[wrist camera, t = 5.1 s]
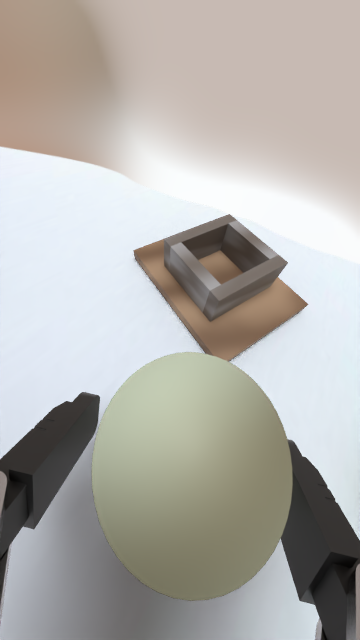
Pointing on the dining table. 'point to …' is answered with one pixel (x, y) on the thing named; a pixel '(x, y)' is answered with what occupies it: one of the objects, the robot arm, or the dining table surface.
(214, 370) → the pale green cylinder
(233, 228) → the jig
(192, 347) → the dining table surface
